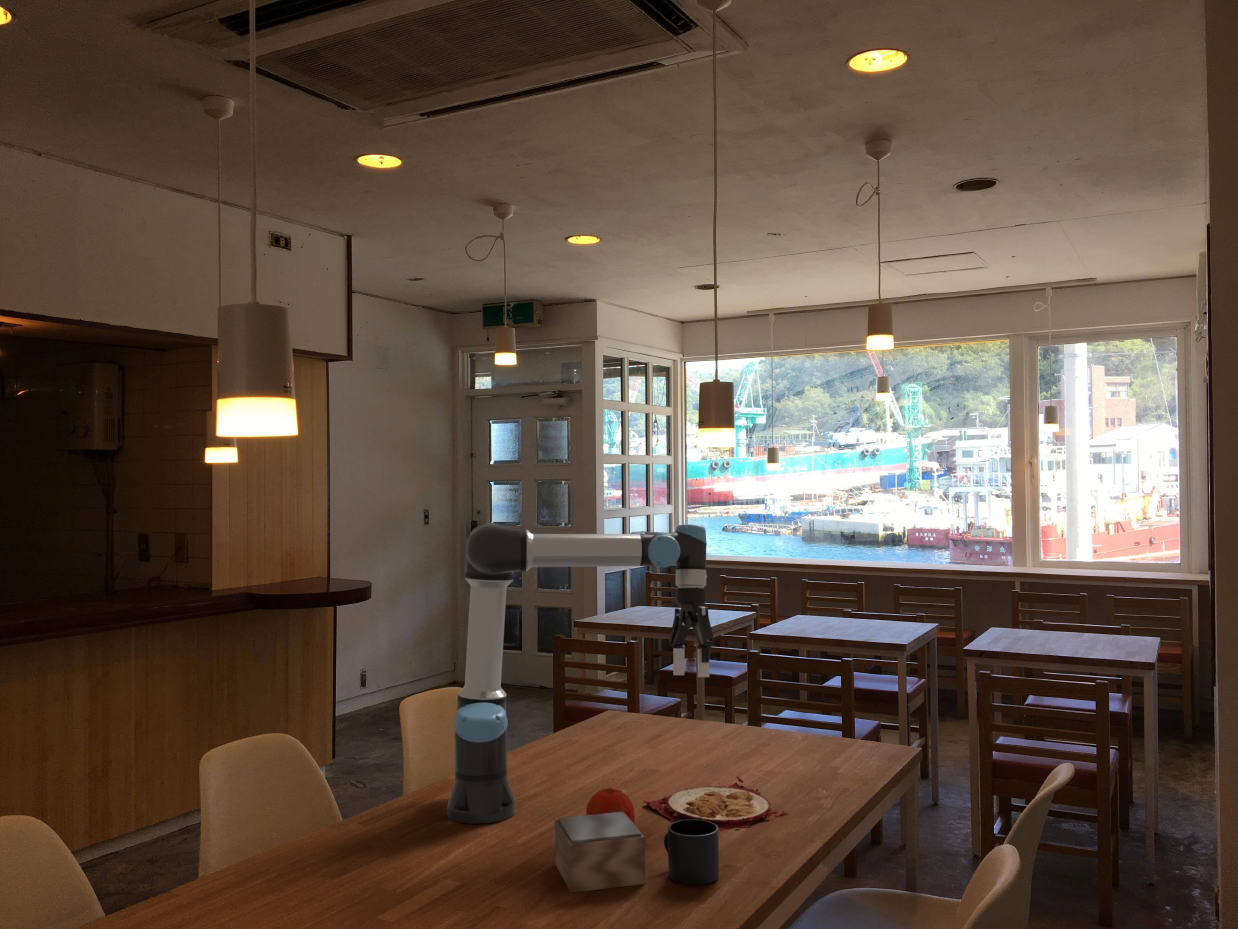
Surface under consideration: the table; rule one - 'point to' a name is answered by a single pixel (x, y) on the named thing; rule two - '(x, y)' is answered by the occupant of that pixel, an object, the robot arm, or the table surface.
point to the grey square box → (599, 851)
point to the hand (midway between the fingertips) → (690, 676)
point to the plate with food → (717, 806)
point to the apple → (610, 803)
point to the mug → (692, 851)
